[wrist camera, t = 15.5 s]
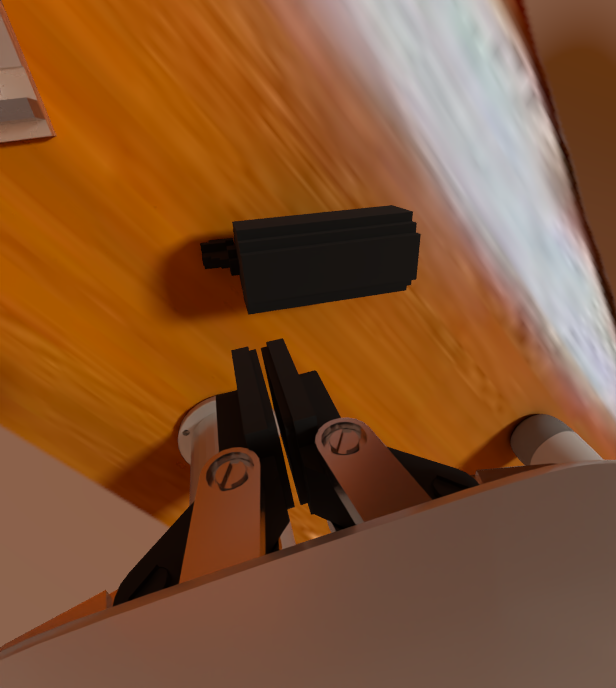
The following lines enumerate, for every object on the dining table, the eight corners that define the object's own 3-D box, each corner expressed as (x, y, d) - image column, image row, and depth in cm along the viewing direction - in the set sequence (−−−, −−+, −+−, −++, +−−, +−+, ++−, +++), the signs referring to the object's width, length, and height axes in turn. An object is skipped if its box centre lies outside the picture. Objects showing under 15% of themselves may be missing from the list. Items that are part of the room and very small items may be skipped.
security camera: (195, 216, 34) (193, 239, 25) (378, 198, 37) (431, 213, 29) (209, 286, 37) (212, 328, 29) (376, 264, 41) (422, 294, 32)
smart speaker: (554, 431, 65) (633, 494, 53) (509, 458, 66) (578, 527, 54) (546, 398, 60) (632, 460, 48) (499, 428, 61) (572, 496, 49)
